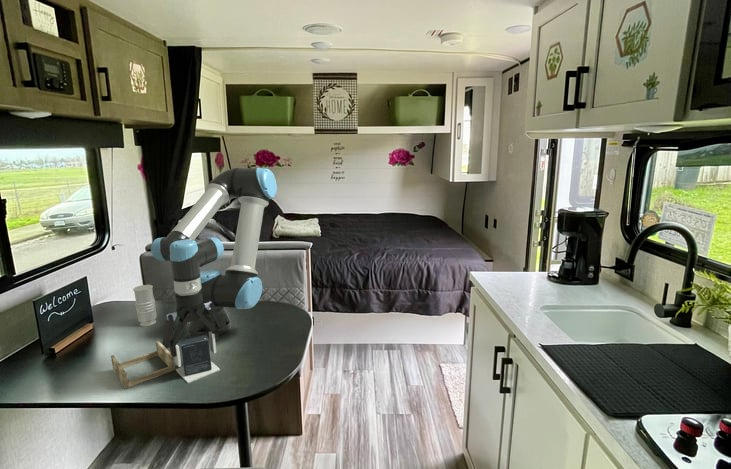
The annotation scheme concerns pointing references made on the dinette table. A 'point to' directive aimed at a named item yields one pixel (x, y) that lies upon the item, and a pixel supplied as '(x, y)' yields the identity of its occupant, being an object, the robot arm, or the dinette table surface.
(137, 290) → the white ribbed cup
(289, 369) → the dinette table surface
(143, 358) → the frame
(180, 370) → the mat
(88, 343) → the dinette table surface
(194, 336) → the box
